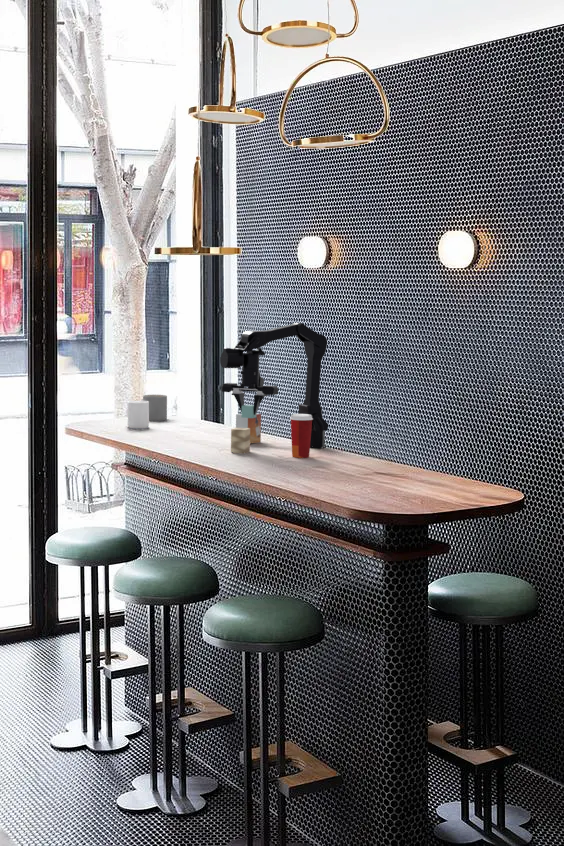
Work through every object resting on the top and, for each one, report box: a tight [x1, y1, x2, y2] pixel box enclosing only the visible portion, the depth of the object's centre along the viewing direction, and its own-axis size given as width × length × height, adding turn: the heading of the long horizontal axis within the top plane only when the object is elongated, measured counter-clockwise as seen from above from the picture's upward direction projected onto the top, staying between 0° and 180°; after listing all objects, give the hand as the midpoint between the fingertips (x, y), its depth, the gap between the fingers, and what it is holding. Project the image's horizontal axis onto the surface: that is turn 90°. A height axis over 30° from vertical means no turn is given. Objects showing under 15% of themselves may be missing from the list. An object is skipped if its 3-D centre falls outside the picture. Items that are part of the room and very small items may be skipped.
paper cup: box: [289, 413, 313, 459], centre depth 355 cm, size 8×8×14 cm
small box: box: [235, 412, 262, 445], centre depth 386 cm, size 8×6×10 cm
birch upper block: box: [230, 427, 250, 442], centre depth 364 cm, size 5×5×4 cm
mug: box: [126, 400, 150, 430], centre depth 424 cm, size 12×8×10 cm
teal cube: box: [240, 404, 258, 418], centre depth 365 cm, size 4×4×4 cm
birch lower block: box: [230, 440, 251, 454], centre depth 364 cm, size 5×5×4 cm
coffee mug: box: [140, 394, 168, 422], centre depth 451 cm, size 13×10×10 cm
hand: (248, 414), depth 365 cm, fingers closed on teal cube, 4 cm apart
